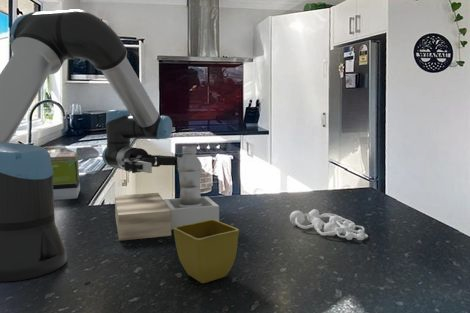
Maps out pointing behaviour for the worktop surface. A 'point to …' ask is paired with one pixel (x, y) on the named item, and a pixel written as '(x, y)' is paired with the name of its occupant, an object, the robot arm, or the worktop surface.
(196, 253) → the flower pot
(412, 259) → the worktop surface
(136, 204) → the beige rectangular block
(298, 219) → the tangled rod sculpture
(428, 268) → the worktop surface
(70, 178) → the tea box
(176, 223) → the frame
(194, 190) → the plastic bottle
